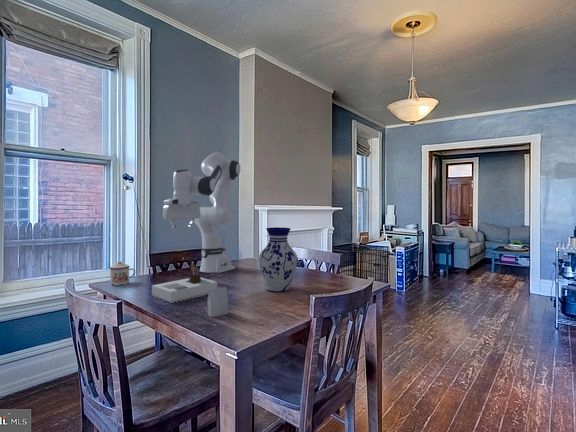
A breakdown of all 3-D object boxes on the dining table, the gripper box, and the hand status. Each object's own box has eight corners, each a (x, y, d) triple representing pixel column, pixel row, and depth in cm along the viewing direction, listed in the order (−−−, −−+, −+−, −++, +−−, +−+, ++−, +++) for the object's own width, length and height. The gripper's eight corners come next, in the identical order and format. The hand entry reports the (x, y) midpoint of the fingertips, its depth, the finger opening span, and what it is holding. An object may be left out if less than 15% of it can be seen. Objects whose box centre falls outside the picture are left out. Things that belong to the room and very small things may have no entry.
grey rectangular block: (227, 314, 130) (227, 288, 130) (211, 317, 126) (211, 290, 126) (224, 311, 133) (224, 286, 133) (207, 314, 130) (207, 288, 129)
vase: (293, 296, 155) (294, 230, 154) (253, 293, 159) (253, 229, 157) (300, 285, 174) (300, 227, 172) (264, 283, 177) (264, 226, 176)
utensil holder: (190, 292, 156) (190, 266, 156) (186, 289, 162) (186, 264, 161) (203, 290, 160) (203, 265, 159) (198, 287, 165) (198, 263, 164)
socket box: (197, 286, 171) (197, 275, 171) (217, 292, 160) (217, 281, 160) (151, 296, 153) (151, 284, 152) (170, 303, 142) (170, 291, 142)
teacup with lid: (111, 286, 169) (111, 263, 169) (108, 282, 177) (108, 260, 176) (137, 283, 176) (136, 261, 175) (133, 279, 183) (133, 258, 183)
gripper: (196, 200, 184) (196, 226, 184) (160, 200, 168) (161, 228, 169) (202, 201, 180) (203, 227, 180) (167, 200, 164) (167, 229, 165)
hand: (182, 227), depth 174 cm, fingers open, 8 cm apart
